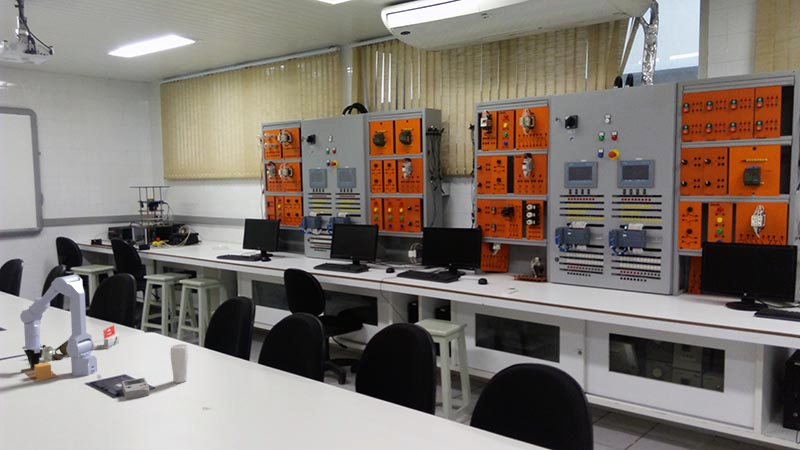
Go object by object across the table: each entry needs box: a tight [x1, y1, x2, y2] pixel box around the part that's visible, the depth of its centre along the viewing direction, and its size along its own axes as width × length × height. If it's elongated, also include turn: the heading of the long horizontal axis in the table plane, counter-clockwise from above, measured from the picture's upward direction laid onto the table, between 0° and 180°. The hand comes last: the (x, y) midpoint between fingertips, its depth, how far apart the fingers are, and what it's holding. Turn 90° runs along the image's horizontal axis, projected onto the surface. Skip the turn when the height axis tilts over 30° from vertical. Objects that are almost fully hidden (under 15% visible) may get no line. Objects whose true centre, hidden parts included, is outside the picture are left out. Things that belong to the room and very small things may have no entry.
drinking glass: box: [170, 343, 189, 384], centre depth 246 cm, size 7×7×15 cm
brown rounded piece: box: [52, 339, 70, 361], centre depth 284 cm, size 7×13×10 cm
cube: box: [34, 362, 52, 379], centre depth 250 cm, size 5×5×5 cm
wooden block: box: [20, 360, 60, 383], centre depth 254 cm, size 24×9×7 cm, turn 45°
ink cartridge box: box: [102, 325, 120, 350], centre depth 302 cm, size 2×11×10 cm, turn 179°
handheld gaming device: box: [121, 377, 150, 400], centre depth 233 cm, size 9×14×4 cm, turn 31°
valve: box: [40, 344, 54, 363], centre depth 279 cm, size 7×7×12 cm
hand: (33, 365), depth 260 cm, fingers open, 3 cm apart
